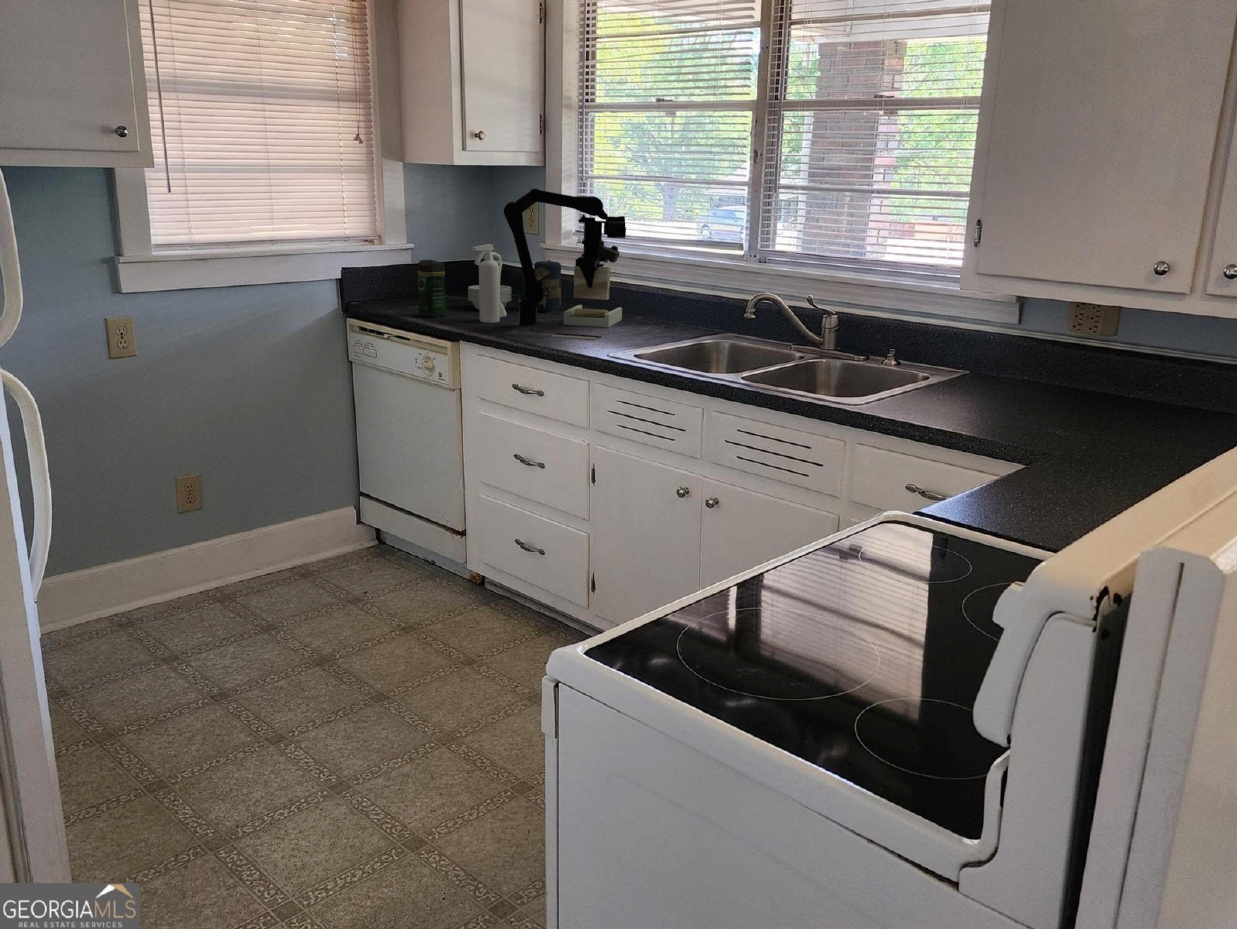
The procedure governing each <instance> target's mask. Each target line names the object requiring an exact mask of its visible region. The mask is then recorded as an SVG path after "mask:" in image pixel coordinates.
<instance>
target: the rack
mask: <svg viewBox="0 0 1237 929" xmlns="http://www.w3.org/2000/svg"><path fill="white" fill-rule="evenodd" d="M577 308H580V309H583V305H582V304H578V305H575V306H573V307H571V308H569V309H567V310H564V311H563V325H564V326H565V325H567V326H569V325H570V326H582V327H596V328H610V327H611V326H613V325H615V324H617V323H619V322H620V321H622V320H623V307H617V308H615V309H613V310H611V311H608V310H607V314H605V319H603V318H588V317H573V316H572V314H574V310H575V309H577Z"/></svg>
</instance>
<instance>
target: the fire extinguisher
mask: <svg viewBox="0 0 1237 929" xmlns="http://www.w3.org/2000/svg"><path fill="white" fill-rule="evenodd" d="M471 251H475V252H477V251H479V252H478V253H477V255H476V257H475V259H474V265H476V266H478V285H479V308H480V310H479V322H482V323H490V324H491V323H492V324H493V323H499V322H500V319H501V318H503V317H505V318H506V316H507V311H506V309H505V308H504V307H503V304H501V302H500V298H499V297H500V285H501V274H502V268H503V262H502V255H500V253H497V252H496V251H495V250H494V245H493V244H491V243H486V244H481V245H477V246H472V247H471ZM492 251H495V252H492ZM484 255H485V256H484ZM493 256H495V257H497V258H498V262H497V261H495V260H494V258H493ZM483 257H484V260H482V258H483ZM481 260H482V261H481Z"/></svg>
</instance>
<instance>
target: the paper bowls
mask: <svg viewBox="0 0 1237 929" xmlns="http://www.w3.org/2000/svg"><path fill="white" fill-rule="evenodd" d="M467 287H468V288H467V300H468V301H469V302H472V304H473V306H474V308H475V309H477V310H478V311H480V308H479V284H478V285H477V284H476V285H470V286H467ZM499 298H500V302H501V304H503V307H504V309H505V308H506V306H507V303H508V302H512V287H511V286H509V285H504V284H503V285H501V284H500V297H499Z"/></svg>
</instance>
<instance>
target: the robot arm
mask: <svg viewBox="0 0 1237 929" xmlns="http://www.w3.org/2000/svg"><path fill="white" fill-rule="evenodd" d="M535 203H542V204H546V205H547V204H548V205H551V206H552V205H553V206H558V207H562V208H563V207H564V208H569V209H573V210H576V211H579V212H581V213H583V214H582V215H581V217H580V218H579V219H578V220H577V222H578V223H581V224H583V240H582V241H581V245H583V250H582V251H583V253H582V254H581V256H578V257H577V258H576V259H575V265H574V266H577V267H579V268H580V269H581V271H582V273H583V275H584V278H585V280H586V283H587V285H588V288H592V285H593V280H594V274H595V271H596V270H597V269H598V268H599V267H605V265H606V264H607V263H608V262H610V263H611V264H612V263H613V264H614V263H617V261H618V258H619V257H620V251H619V247H618V246H616V245H612V246H611V247H609V246H606V245H605V241H604V240H603V235H604V236H605V235H606V238H608V239H626V234H627V232H626V231H627V226H626V216H625V215H623V216H622V215H620V216H611V215H610V216H608V213H606V212H605V210H604V204H603V201H602V199H600V198H599V197H597V196H595V195H594V196H593V195H591V196H589V195H588V196H587V195H582V196H581V195H580V196H578V195H577V196H575V195H574V196H573V195H569V194H562V193H558V192H552V191H548V190H541V189H539V188H535V187H534V188H531V189H530V190H529V191H528V192H527V193H525V194H524V195H523V196H521V197H520V198H518V199H516V201H514V200H511V201H508V202H507V203H505V206H503V216H504V218H505V220H506V222H507V224H508V227H509V229H510V231H511V232H512V235H513V239H514V243H515V246H516V251H517V254H518V258H519V263H520V267H521V270H522V273H523V281H524V282H523V283H524V284H523V285H524V292H525V293H524V294H522V295H521V297H519V298H518V306H519V307H518V323H517V324H516V325H515V327H517V326H519V325H520V326H535V325H537V324H538V310H537V304H538V303H540V302H541V301H542V299H543V297H544V294H543V292H545V289H544V287H543V285H542V278H541V277H539V278H537V276H536V274H535V272H534V264H533V260H532V258H531V253H530V250H529V249H530V248H529V245H528V242H527V237H526V234H525V229H524V219H523V215H524V214H523V213H524V212H525V211H527V210H528V209H529V208H530V207H532V206H533V205H534V204H535ZM584 214H586V215H588V216H591V217H588V216H587V217H586V215H584ZM596 217H598V218H599V219H601V220H596ZM601 262H603V263H601ZM604 263H605V264H604Z"/></svg>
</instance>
